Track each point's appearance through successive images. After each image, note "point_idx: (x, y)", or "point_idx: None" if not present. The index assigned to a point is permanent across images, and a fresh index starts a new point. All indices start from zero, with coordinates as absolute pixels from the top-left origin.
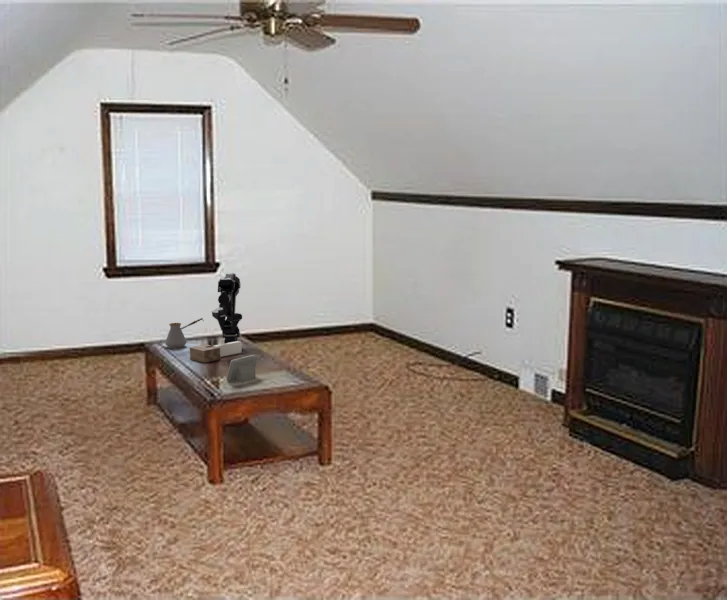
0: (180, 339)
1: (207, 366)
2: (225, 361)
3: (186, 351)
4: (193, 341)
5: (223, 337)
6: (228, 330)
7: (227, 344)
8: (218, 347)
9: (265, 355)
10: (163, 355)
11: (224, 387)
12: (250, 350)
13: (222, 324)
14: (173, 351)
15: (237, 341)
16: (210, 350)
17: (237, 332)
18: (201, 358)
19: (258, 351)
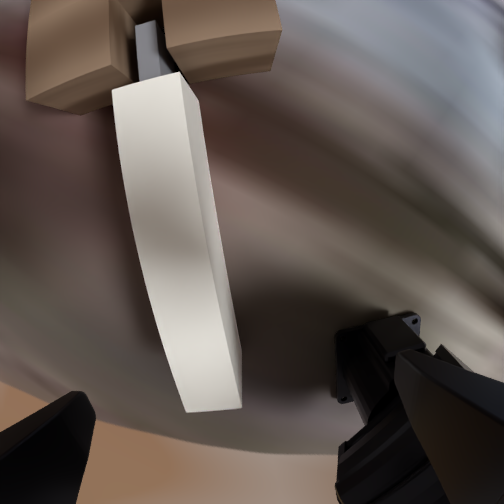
0: None
1: (3, 8)
2: (14, 127)
3: (475, 62)
4: None
5: (436, 350)
6: (400, 436)
7: (137, 249)
8: (40, 89)
9: (54, 400)
10: None
11: None
12: (222, 419)
13: (446, 440)
14: (498, 23)
15: (219, 396)
16: (34, 10)
17: (337, 478)
18: None
19: (166, 433)
